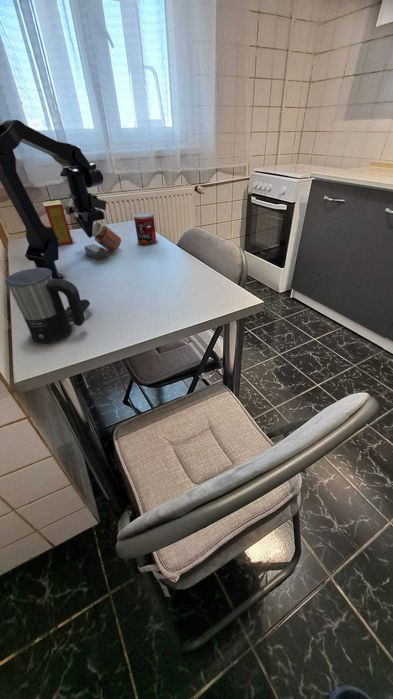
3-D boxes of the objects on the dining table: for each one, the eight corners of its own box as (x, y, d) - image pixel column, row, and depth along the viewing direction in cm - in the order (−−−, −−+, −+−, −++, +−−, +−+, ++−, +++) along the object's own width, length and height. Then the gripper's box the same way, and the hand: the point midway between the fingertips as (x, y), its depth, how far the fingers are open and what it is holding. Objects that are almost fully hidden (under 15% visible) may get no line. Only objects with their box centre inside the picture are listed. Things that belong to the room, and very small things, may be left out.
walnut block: (108, 257, 112) (106, 249, 110) (98, 260, 110) (96, 252, 108) (95, 251, 118) (93, 243, 116) (86, 254, 116) (84, 246, 114)
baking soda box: (73, 243, 128) (61, 203, 118) (57, 246, 125) (44, 205, 116) (70, 237, 134) (59, 199, 125) (55, 240, 132) (42, 201, 123)
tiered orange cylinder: (126, 253, 117) (124, 224, 111) (99, 256, 110) (96, 225, 104) (115, 248, 122) (113, 220, 116) (89, 251, 115) (86, 221, 109)
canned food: (135, 245, 123) (130, 216, 116) (143, 239, 129) (139, 212, 122) (151, 246, 121) (148, 217, 114) (159, 240, 127) (156, 212, 120)
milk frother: (27, 347, 67) (-1, 287, 58) (38, 314, 79) (15, 260, 70) (92, 336, 69) (74, 277, 60) (92, 305, 82) (77, 252, 73)
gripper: (113, 189, 98) (122, 237, 108) (87, 184, 110) (97, 228, 119) (82, 194, 93) (94, 244, 102) (58, 188, 104) (71, 234, 113)
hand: (90, 237), depth 109 cm, fingers closed, pressing on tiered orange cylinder
